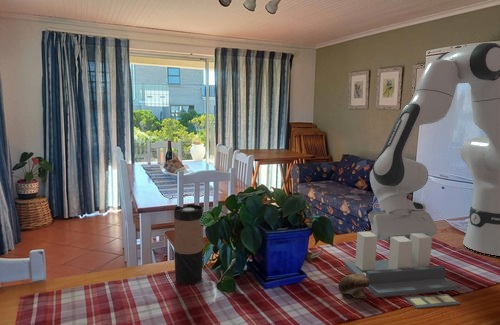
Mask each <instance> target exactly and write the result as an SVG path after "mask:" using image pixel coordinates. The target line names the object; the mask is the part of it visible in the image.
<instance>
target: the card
mask: <svg viewBox="0 0 500 325" xmlns="http://www.w3.org/2000/svg"><path fill="white" fill-rule="evenodd" d="M404 299H405V301H407V302H409V303H410V304H411V305H412V306H413V307H414V308H415V309H417V310H418V309H425V308H426V309H427V308H436V307H444V306H445V307H446V306H457V304H459V305H461V302H459V301H458V300H456V299H455V298H454V297H452V296H450V295H449V294H448V293H444V294H431V295H421V296H412V297H405V298H404Z"/></svg>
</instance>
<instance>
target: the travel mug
mask: <svg viewBox="0 0 500 325" xmlns="http://www.w3.org/2000/svg"><path fill="white" fill-rule="evenodd" d="M203 210H204V209H203V206H201V205H199V204H187V205H186V206H180V205H176V206H175V207H174V209H173V214H174V215H173V221H174V225H173V229H174V230H173V232H174V233H173V236H174V238H173V240H174V241H173V242H174V243H173V247H174V248H173V252H174V275H175V282H176V284H179V285H183V286H192V285H196V284H198V283H200V282H201V281H202V280H203V278H202V277H203V261H202V259H203V258H204V257H203V254H204V225H203V226H201V224H199V223H200V222H199V220H200V218H201V216H202V214H203V213H204V212H203Z"/></svg>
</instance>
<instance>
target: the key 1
mask: <svg viewBox="0 0 500 325" xmlns="http://www.w3.org/2000/svg"><path fill="white" fill-rule="evenodd" d="M377 244H378V240H377V236H376V235H375V234H373V233H372V231H357V232H356V245H355V246H356V247H355V261H354V262H355V265H356V266H357V267H358V268H360V269H361V270H362V271H364V270H375V261H377V260H376V258H377V247H378V246H377Z"/></svg>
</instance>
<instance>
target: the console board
mask: <svg viewBox="0 0 500 325" xmlns="http://www.w3.org/2000/svg"><path fill="white" fill-rule="evenodd" d="M388 263H389V259H383V260H382V259H381V260H380V259H379V260H376V261H375V270H364V271H362V270H361V269H360V268H358V267H357V266H356V265H355V261H351V262H344V268H346V270H348V271H349V272H350V273H351V274H361V275H363V276H365V277H367V278H368V279H369V281H370V285H369V286H368V287H366V288H367V289H368V290H369V291H370V292H371V294H374V296H376V297H377V298H384V297H396V296H398V297H399V296H405V295H407V296H409V295H418V294H430V293H440V292H439V291H443V292H447V291H446V290H454V291H457V290H458V289H457V288H458V285H456V284H455V283H453V282H452V281H450V280H448V279H447V278H445V276H446V267H445V266H443V265H432V266H428V267H414V268H400V269H388Z"/></svg>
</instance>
